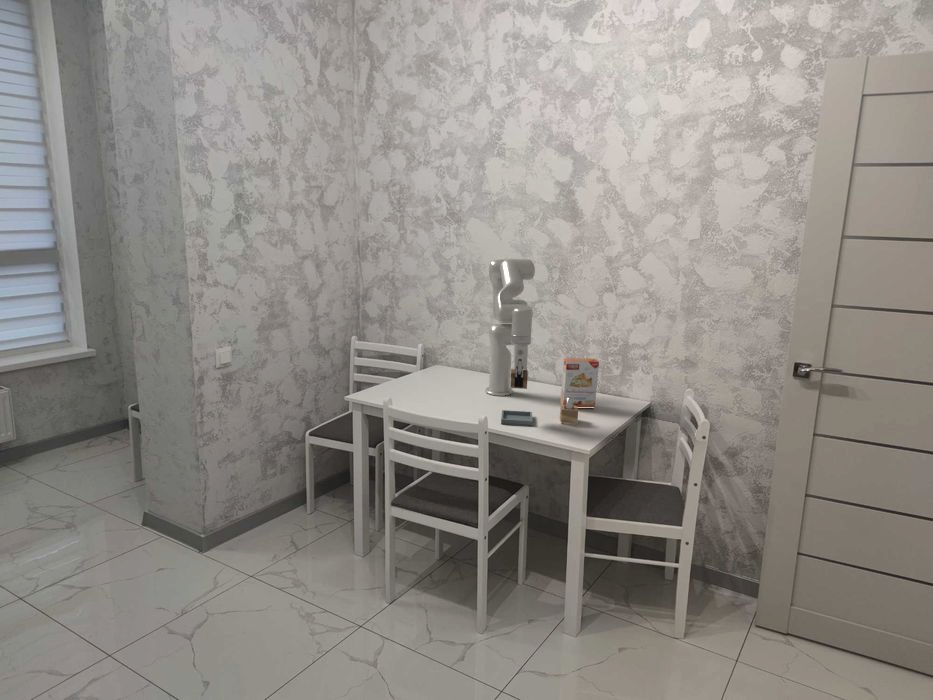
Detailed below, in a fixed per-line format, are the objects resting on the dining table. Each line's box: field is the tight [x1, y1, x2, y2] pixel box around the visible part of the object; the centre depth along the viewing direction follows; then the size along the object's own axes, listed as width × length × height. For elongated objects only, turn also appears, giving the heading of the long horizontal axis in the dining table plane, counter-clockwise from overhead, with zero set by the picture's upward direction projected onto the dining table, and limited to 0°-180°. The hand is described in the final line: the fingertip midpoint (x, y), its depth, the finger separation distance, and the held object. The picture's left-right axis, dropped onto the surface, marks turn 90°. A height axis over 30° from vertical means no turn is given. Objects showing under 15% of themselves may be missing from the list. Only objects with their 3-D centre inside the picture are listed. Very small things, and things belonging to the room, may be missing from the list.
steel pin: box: [566, 397, 573, 409], centre depth 252 cm, size 2×2×9 cm
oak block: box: [559, 405, 579, 425], centre depth 253 cm, size 6×6×6 cm
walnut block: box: [510, 368, 529, 390], centre depth 249 cm, size 6×6×6 cm
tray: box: [500, 409, 533, 427], centre depth 253 cm, size 12×12×2 cm
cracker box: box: [560, 357, 600, 408], centre depth 271 cm, size 14×6×21 cm, turn 95°
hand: (518, 384), depth 250 cm, fingers closed on walnut block, 6 cm apart
